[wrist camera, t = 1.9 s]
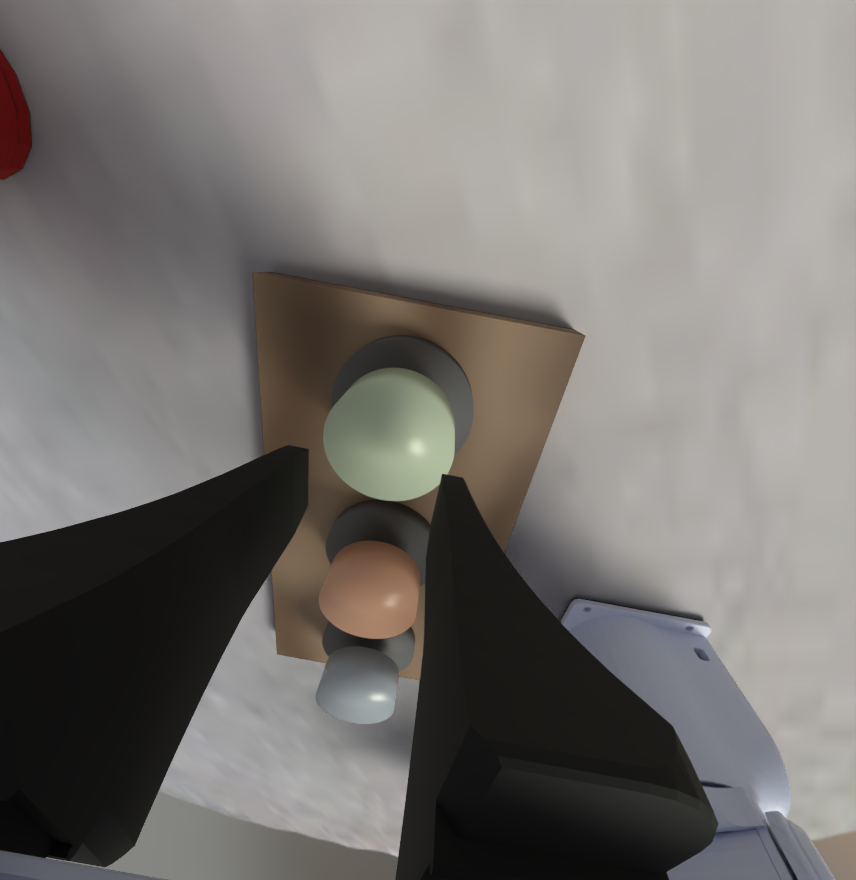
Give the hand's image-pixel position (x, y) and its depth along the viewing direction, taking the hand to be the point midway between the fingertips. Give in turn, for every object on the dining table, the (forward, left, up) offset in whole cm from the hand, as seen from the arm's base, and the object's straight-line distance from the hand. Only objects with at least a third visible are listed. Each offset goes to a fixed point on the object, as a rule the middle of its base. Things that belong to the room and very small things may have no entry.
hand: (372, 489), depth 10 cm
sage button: (0, 0, -5) cm, 5 cm away
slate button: (0, +18, -5) cm, 19 cm away
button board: (0, +9, -8) cm, 12 cm away
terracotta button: (0, +9, -5) cm, 10 cm away
